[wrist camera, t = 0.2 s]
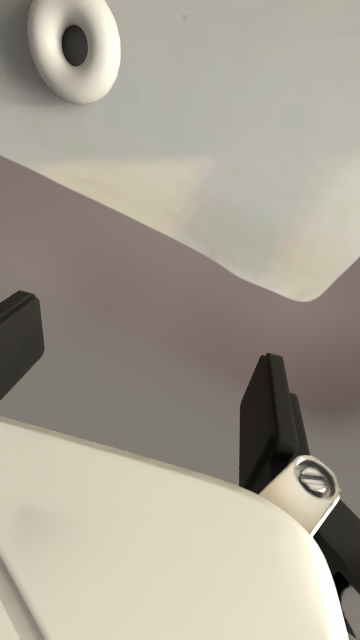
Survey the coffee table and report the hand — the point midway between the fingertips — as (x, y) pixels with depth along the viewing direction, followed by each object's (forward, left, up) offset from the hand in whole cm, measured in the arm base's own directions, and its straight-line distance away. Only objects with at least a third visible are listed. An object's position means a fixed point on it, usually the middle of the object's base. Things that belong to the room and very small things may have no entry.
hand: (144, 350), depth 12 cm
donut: (-13, -18, -31) cm, 38 cm away
